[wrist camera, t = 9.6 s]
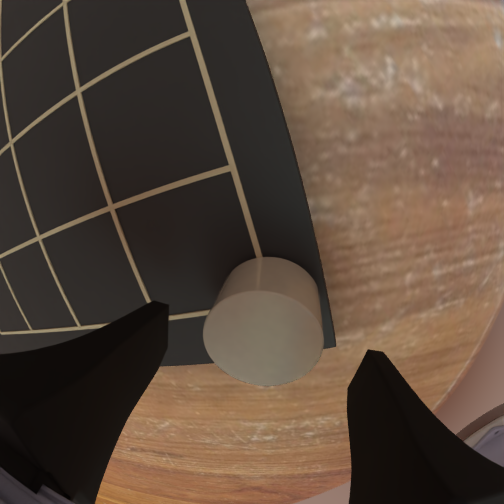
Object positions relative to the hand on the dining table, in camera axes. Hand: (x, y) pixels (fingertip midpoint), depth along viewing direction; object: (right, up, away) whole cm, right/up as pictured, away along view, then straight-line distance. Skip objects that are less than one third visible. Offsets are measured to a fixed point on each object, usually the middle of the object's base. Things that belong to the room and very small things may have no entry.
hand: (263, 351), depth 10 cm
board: (-16, +14, +2) cm, 22 cm away
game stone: (0, +1, +3) cm, 3 cm away
